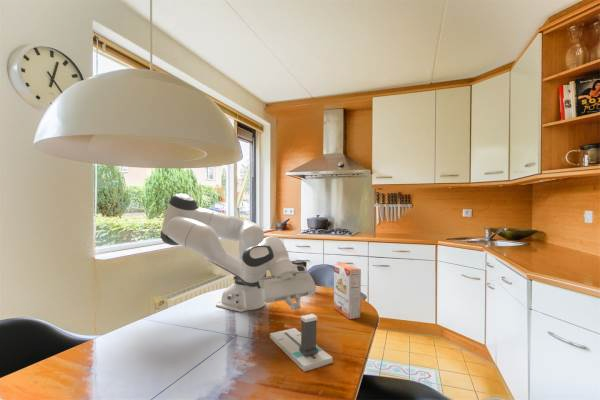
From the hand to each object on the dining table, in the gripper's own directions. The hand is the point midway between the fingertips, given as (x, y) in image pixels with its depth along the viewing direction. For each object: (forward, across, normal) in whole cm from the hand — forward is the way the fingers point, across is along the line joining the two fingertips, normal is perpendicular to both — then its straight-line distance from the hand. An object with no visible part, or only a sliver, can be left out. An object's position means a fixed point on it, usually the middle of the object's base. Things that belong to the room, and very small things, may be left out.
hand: (296, 309), depth 99 cm
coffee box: (-30, +31, +47) cm, 64 cm away
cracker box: (-1, +34, +19) cm, 38 cm away
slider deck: (+11, -1, +6) cm, 12 cm away
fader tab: (+14, -1, 0) cm, 14 cm away
